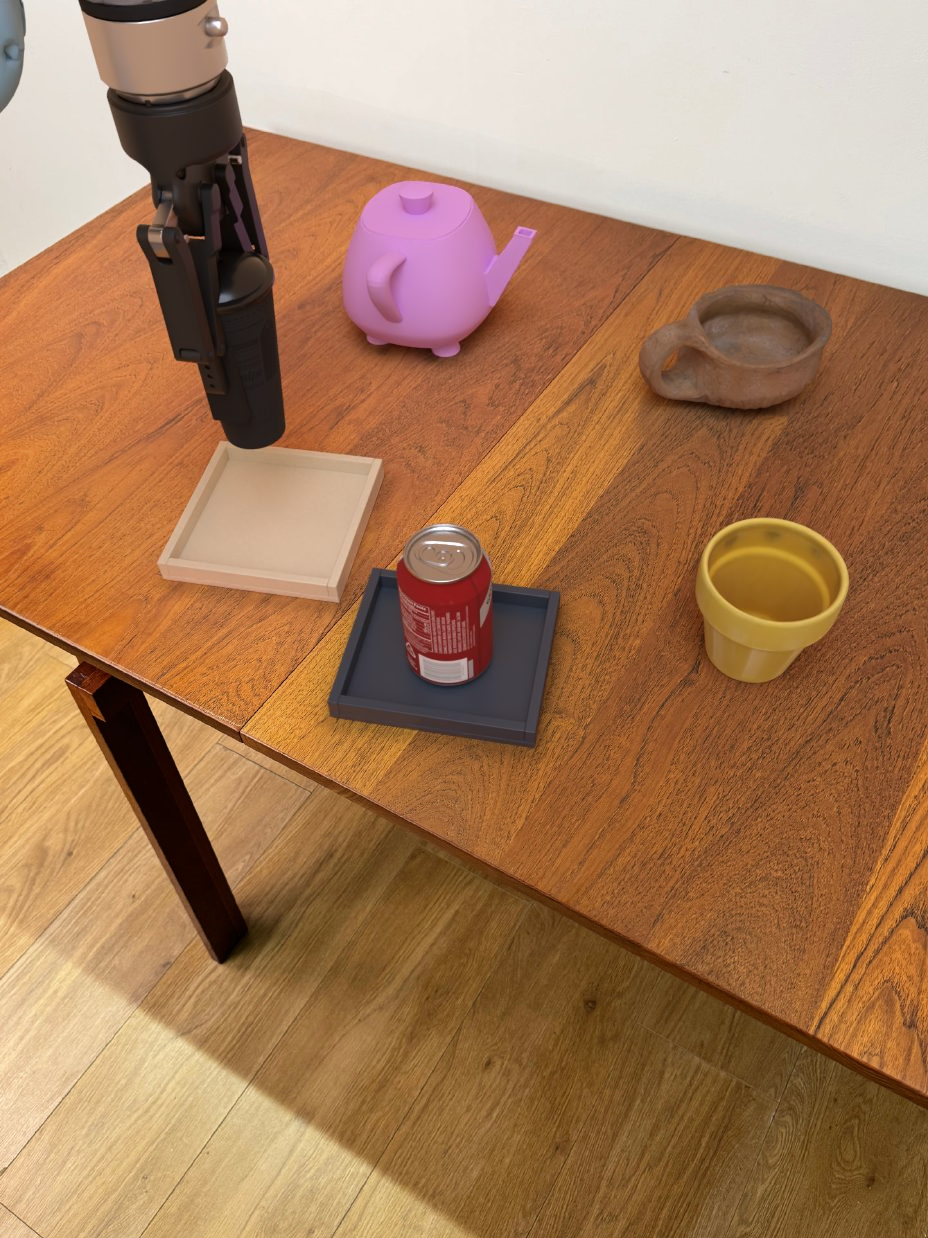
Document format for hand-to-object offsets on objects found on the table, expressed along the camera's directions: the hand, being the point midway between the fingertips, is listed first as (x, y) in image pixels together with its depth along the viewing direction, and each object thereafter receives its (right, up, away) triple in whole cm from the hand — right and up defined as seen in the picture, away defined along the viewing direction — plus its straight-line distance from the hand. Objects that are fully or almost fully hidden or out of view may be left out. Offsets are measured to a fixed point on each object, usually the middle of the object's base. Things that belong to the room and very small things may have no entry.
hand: (246, 390), depth 77 cm
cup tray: (0, -9, +12) cm, 15 cm away
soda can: (+16, -21, +1) cm, 26 cm away
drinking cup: (0, -3, +3) cm, 4 cm away
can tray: (+16, -21, +2) cm, 26 cm away
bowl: (+42, +5, +22) cm, 48 cm away
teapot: (+14, +13, +29) cm, 34 cm away
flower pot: (+39, -20, +2) cm, 44 cm away
